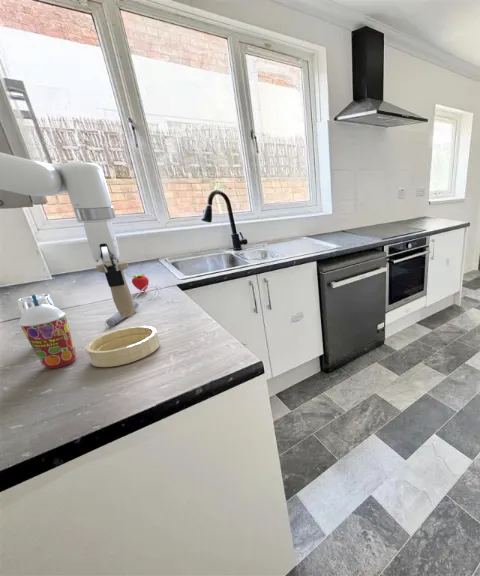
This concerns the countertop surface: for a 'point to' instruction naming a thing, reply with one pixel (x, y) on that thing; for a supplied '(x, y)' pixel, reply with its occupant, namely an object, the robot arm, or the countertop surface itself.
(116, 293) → the handle
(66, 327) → the smoothie
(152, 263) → the countertop surface
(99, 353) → the bowl
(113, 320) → the kitchen whisk
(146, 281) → the strawberry
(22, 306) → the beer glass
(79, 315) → the countertop surface
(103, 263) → the robot arm
